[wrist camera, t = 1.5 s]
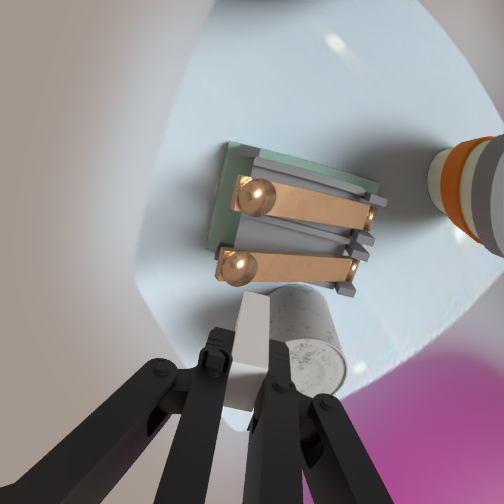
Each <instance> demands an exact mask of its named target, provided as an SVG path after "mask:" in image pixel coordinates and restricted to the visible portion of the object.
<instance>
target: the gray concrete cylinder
mask: <svg viewBox="0 0 504 504" xmlns="http://www.w3.org/2000/svg"><path fill="white" fill-rule="evenodd" d="M268 296H269V297H270V317H269V339H272V340H277V341H282V342H285V343H286V345H287V346H288V348H289V354H290V356H289V357H290V367H291V380H292V381H293V383H294V384H295V386H296V389H297V391H299V392H300V393H302V394H304V395H307V396H309V397H312V398H314V396H316V395H317V394H320V393H326V394H330V395H333V396H334V395H335V394H336V393H337V392H338V391H339V390H340V389H341V387H342V386H343V384H344V383H345V380H346V377H347V373H348V366H347V361H346V358H345V357H344V355H343V351H342V348H341V345H340V342H339V339H338V336H337V332H336V329H335V326H334V323H333V320H332V317H331V314H330V310H329V307H328V303H327V301H326V300H325V298H324V297H323V296H322V295H321V294H320V293H319V292H318V291H317V290H315V289H313V288H311V287H308V286H305V285H298V284H294V285H287V286H283V287H280V288H278V289H276V290H275V291H273V292H272V293H270V294H269V295H268Z"/></svg>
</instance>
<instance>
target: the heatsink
mask: <svg viewBox="0 0 504 504" xmlns="http://www.w3.org/2000/svg"><path fill="white" fill-rule="evenodd" d="M238 174H239V175H244V176H249V177H254V178H255V177H259V178H263V179H266V180H269V181H274V182H279V183H283V184H288V185H292V186H297V187H301V188H306V189H310V190H314V191H318V192H322V193H327V194H331V195H335V196H339V197H343V198H347V199H350V200H354V201H358V202H362V203H365V204H368V205H371V206H374V204H377V205H380V206H383V207H386V204H387V201H388V199H386V198H383V197H381V196H378V195H377V194H378V191H379V187H380V184H379V183H377V182H374V181H371V180H368V179H365V178H362V177H359V176H356V175H353V174H350V173H347V172H344V171H341V170H337V169H334V168H331V167H328V166H324V165H321V164H318V163H314V162H311V161H307V160H304V159H300V158H296V157H293V156H289V155H285V154H281V153H278V152H274V151H270V150H266V149H262V148H257V147H253V146H249V145H245V144H240V143H236V142H231V141H229V145H228V149H227V153H226V157H225V162H224V166H223V170H222V174H221V179H220V183H219V188H218V192H217V196H216V201H215V206H214V210H213V215H212V220H211V224H210V229H209V234H208V239H207V244H206V249H207V250H211V251H215V252H216V253H215V258H214V259H215V260H218V258H219V254H220V249H221V247H231V248H245V249H259V250H273V251H287V252H301V253H315V254H329V255H343V256H348V255H350V257H351V258H355V259H359V260H362V261H366V262H367V261H368V258H369V255H370V254H369V253H368V252H367V251H366V250H365V248H364V247H363V246H362V244H365V245H369V246H372V247H373V244H374V241H375V238H374V237H372V236H371V235H370V234H369V233H368V232H367V231H366V230H361V229H355V228H349V227H343V226H337V225H330V224H324V223H318V222H312V221H305V220H298V219H292V218H285V217H278V216H271V215H264V216H261V217H252V216H249V215H248V214H246V213H245V212H242V211H234V210H233V209H231V208H230V205H231V200H232V196H233V192H234V188H235V183H236V179H237V175H238ZM305 283H309V284H313V285H317V286H321V287H325V288H330V289H334V287H335V289H336V292H337V294H340V295H344V296H348V297H354V295H355V292H356V290H355V288H354V286H353V284H352V283H351V282H346V281H341V282H305Z"/></svg>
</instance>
